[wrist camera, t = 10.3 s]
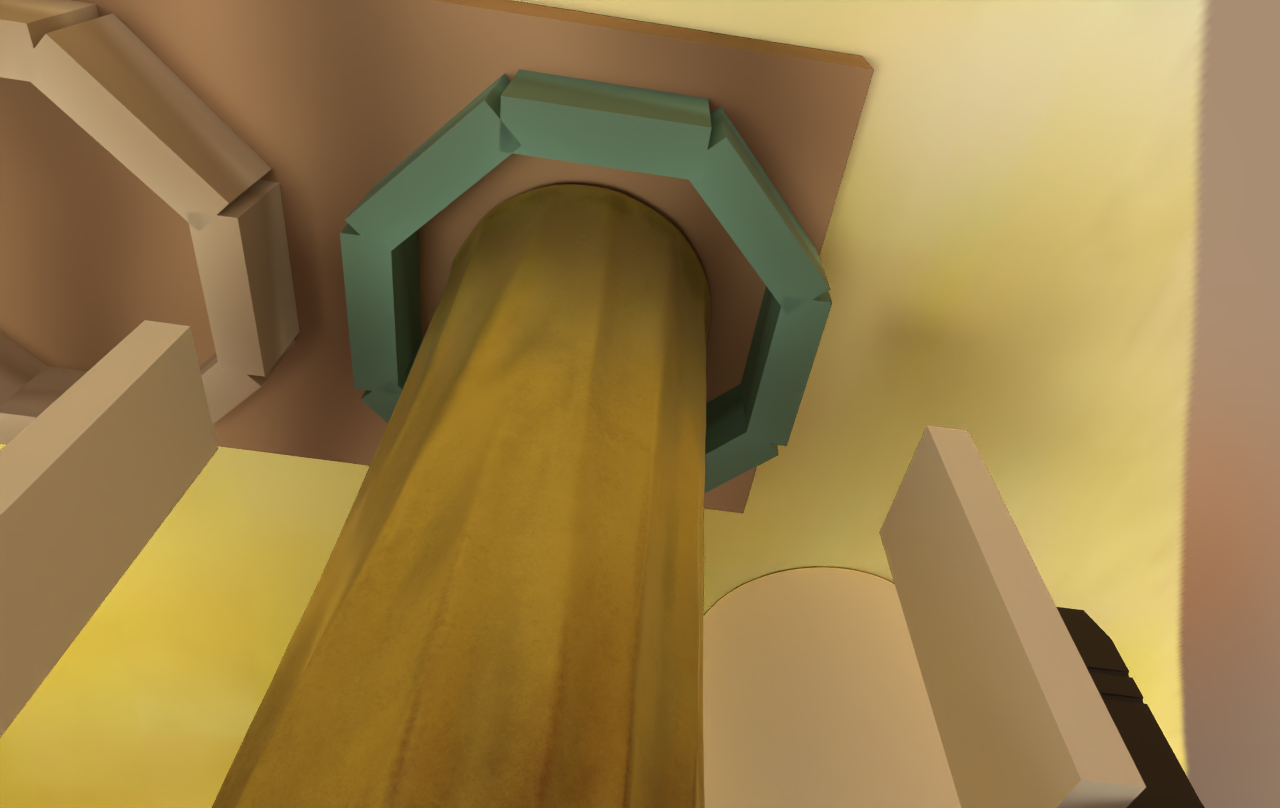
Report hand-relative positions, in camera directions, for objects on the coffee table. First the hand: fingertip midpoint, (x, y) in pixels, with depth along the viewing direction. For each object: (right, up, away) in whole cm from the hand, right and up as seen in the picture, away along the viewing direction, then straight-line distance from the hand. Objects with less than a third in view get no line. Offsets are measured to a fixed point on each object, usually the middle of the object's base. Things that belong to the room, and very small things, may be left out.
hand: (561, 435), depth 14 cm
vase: (0, +3, +4) cm, 5 cm away
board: (-6, +4, +5) cm, 9 cm away
